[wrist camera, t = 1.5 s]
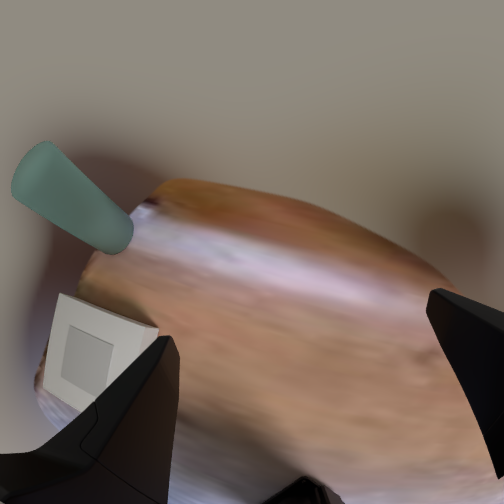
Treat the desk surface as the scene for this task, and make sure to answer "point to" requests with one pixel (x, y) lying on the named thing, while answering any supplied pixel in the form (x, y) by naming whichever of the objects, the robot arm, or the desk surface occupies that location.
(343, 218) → the desk surface
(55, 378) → the plinth
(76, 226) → the pillar
